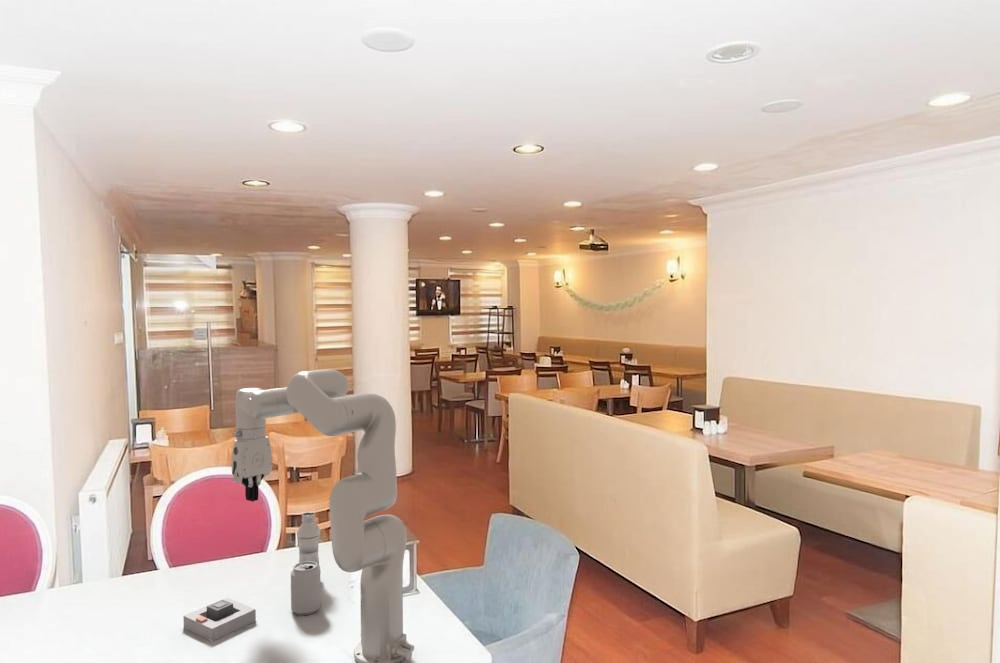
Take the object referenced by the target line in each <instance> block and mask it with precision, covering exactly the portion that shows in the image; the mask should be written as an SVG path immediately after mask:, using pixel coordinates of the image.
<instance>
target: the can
mask: <svg viewBox="0 0 1000 663" xmlns="http://www.w3.org/2000/svg"><path fill="white" fill-rule="evenodd" d="M292 568H293V569H292V570H291V571H290V609H291V611H292V612H293V613H294V614H295V615H298V616H309V615H311V614H314V613H315V612H318V609H319V608H320V607H321V604H322V602H321V601H322V598H321V597H322V596H321V594H322V593H321V588H322V587H321V573H320V571H321V567H320V568H319V567H318V564H317V563H316V562H313V561H305V562H300V563H299V562H298V563H296V564H294V565H293V567H292Z"/></svg>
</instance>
